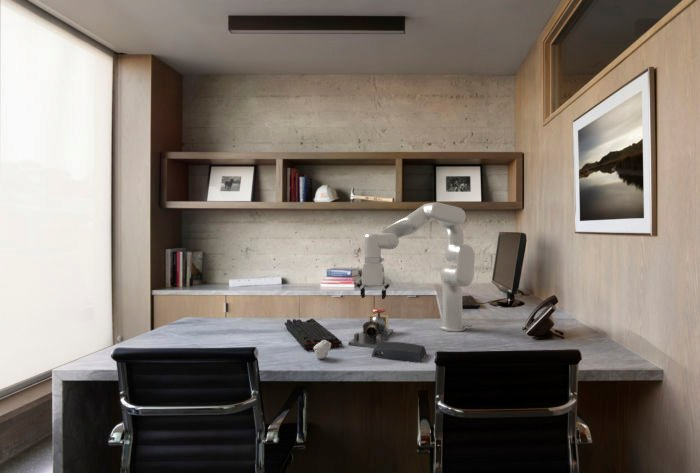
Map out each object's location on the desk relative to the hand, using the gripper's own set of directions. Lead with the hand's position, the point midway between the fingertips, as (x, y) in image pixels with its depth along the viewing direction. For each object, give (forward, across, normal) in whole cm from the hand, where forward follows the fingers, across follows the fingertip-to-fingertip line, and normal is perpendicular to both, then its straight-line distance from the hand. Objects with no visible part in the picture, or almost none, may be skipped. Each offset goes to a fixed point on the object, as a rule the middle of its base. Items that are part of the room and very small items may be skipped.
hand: (373, 298), depth 181 cm
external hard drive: (+19, -16, +21) cm, 33 cm away
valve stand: (+18, +1, 0) cm, 18 cm away
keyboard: (+19, +29, +7) cm, 35 cm away
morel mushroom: (+16, 0, +3) cm, 16 cm away
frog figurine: (+18, +11, +34) cm, 40 cm away
